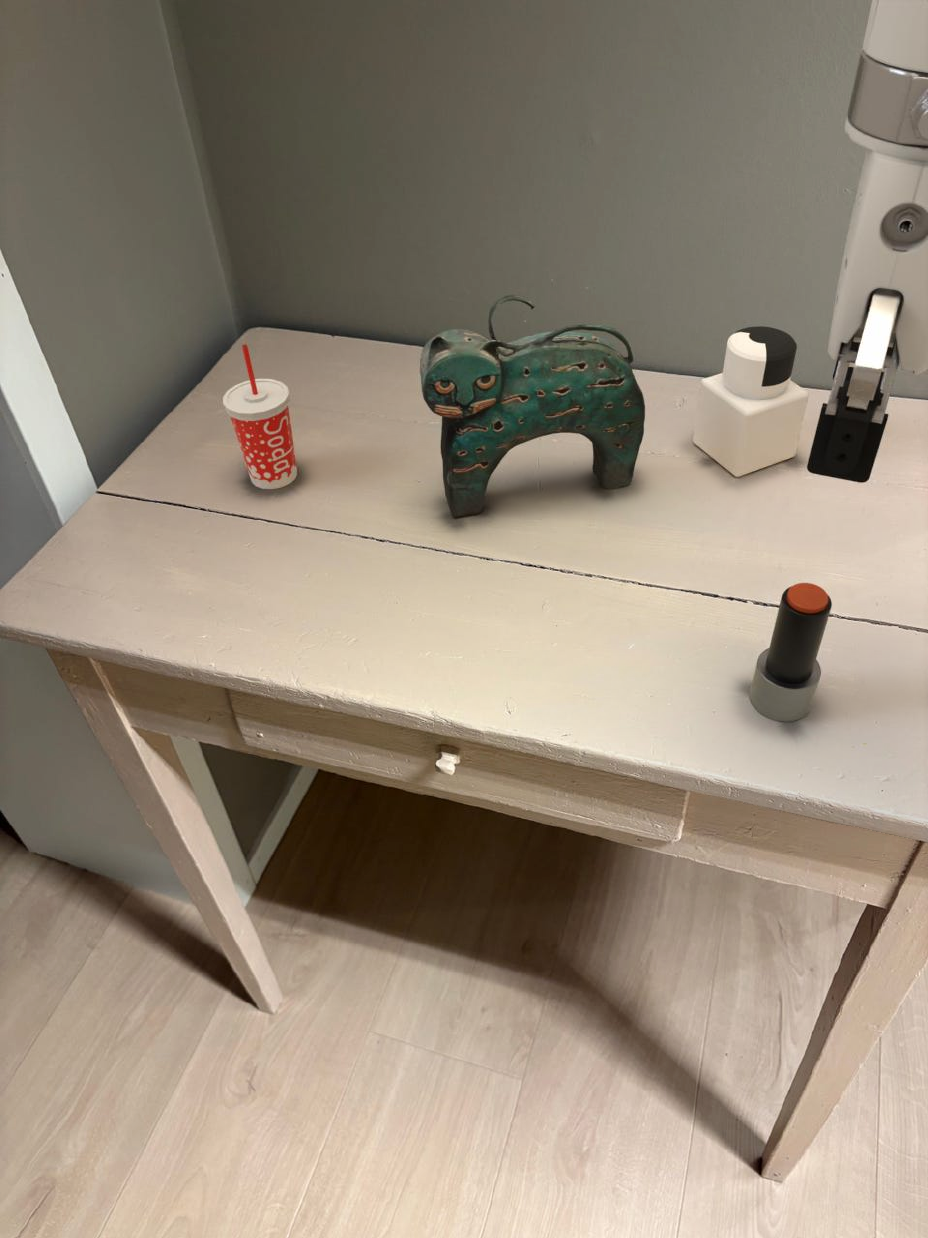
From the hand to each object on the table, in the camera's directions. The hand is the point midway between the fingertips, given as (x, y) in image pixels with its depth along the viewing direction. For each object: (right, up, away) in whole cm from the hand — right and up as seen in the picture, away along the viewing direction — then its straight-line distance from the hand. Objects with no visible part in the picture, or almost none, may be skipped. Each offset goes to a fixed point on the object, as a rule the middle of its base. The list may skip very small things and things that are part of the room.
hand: (848, 427), depth 55 cm
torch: (+1, -17, +16) cm, 23 cm away
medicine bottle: (+5, +5, +39) cm, 40 cm away
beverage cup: (-41, +3, +40) cm, 57 cm away
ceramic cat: (-15, +1, +36) cm, 39 cm away
